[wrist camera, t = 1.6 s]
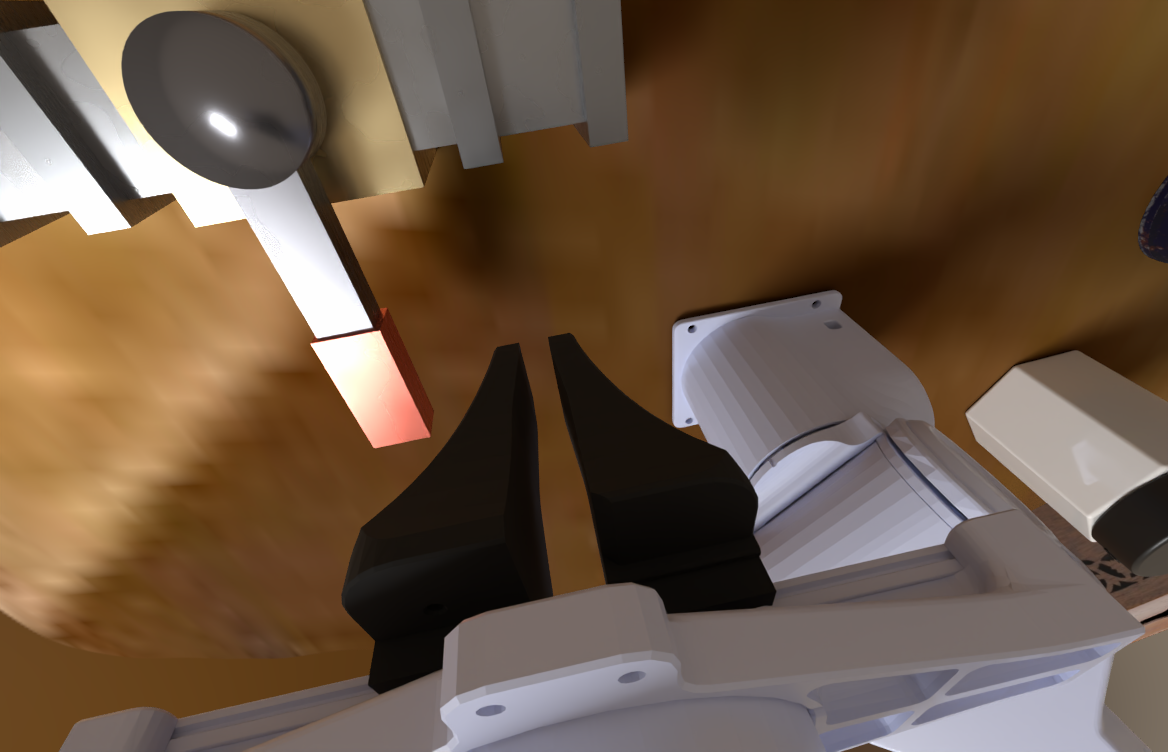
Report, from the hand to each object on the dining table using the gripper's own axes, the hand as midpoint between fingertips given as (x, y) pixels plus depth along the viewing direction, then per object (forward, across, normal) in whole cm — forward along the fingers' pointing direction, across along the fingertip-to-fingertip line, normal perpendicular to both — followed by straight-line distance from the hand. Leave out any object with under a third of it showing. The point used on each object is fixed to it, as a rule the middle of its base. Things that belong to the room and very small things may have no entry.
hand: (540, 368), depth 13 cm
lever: (+5, +6, -2) cm, 8 cm away
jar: (+10, -34, +19) cm, 40 cm away
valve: (+10, +6, -7) cm, 14 cm away
